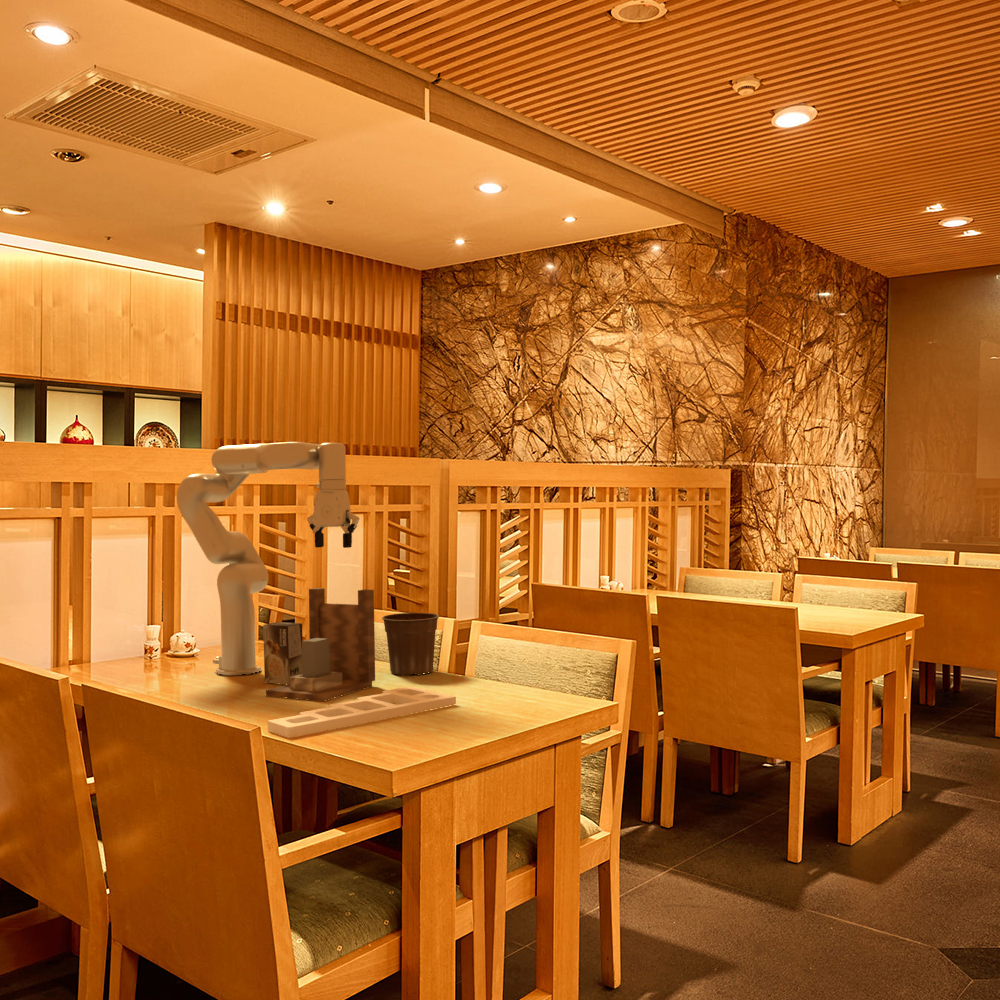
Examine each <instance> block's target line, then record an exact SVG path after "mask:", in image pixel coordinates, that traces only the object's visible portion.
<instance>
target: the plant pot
mask: <svg viewBox="0 0 1000 1000" xmlns="http://www.w3.org/2000/svg"><path fill="white" fill-rule="evenodd" d="M381 618H382V619H381V620H382V621H383V624H384V625H383V627H384V631H385V633H386V641H387V651H388V657H389V667H390V668H389V671H390V674H392V673H393V675H395V674H397V675H396V676H401V675H403V676H405V675H410V676H412V675H416V674H422V675H424V674H423V673H428V672H431V673H433V672H434V661H435V645H436V633H437V632H436V631H437V629H438V619H439V618H440V615H439V614H438V613H430V612H399V613H393V614H388V615H383V616H382V617H381ZM428 674H429V673H428Z"/></svg>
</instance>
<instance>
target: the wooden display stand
mask: <svg viewBox="0 0 1000 1000" xmlns="http://www.w3.org/2000/svg"><path fill="white" fill-rule="evenodd" d="M325 591H326V590H325V588H324V587H313V588H308V613H309V615H308V616H309V617H308V619H309V620H308V621H309V622H308V623H309V626H308V627H309V628H308V629H309V639H314V638H326V639H329V675H325V676H322V677H318V678H310V677H302V674H300V675H296V676H292V677H290V684H287V685H280V686H277V687H273V688H269V689H266V690H265V697H269V696H270V697H271V698H280V697H287V698H286V699H290V698H298V699H297V700H301V699H308V700H307V701H312V700H316V701H315V702H322V701H324V702H326V701H325V700H327V701H329V700H328V699H331V698H334V697H337V698H339V697H338V696H340V697H342V696H341V695H343V696H345V695H344V694H347V695H349V694H348V693H350V694H352V693H351V692H353V693H355V692H354V691H356V692H359V691H362V690H361V689H363V690H365V689H364V688H366V689H368V688H367V687H369V688H372V687H373V682H374V681H376V655H375V654H376V651H375V650H376V649H375V648H376V645H375V641H376V640H375V636H376V635H375V589H359V590H357V604H353V603H352V604H351V603H347V604H346V603H326V602H325V601H326V598H325V597H326V596H325V593H326V592H325ZM371 686H372V687H371ZM358 690H359V691H358ZM334 699H335V698H334ZM331 700H332V699H331Z"/></svg>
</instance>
